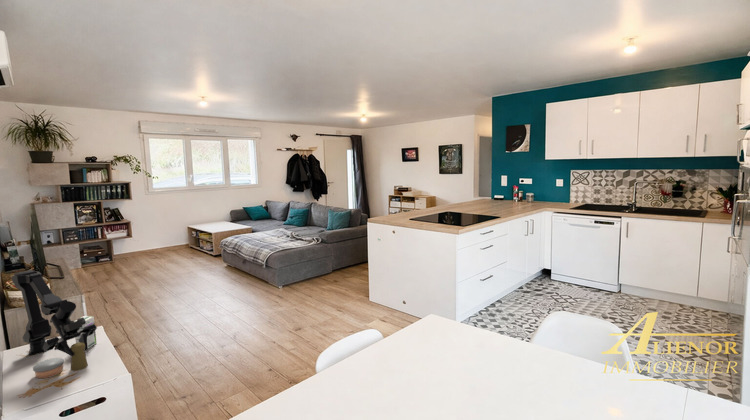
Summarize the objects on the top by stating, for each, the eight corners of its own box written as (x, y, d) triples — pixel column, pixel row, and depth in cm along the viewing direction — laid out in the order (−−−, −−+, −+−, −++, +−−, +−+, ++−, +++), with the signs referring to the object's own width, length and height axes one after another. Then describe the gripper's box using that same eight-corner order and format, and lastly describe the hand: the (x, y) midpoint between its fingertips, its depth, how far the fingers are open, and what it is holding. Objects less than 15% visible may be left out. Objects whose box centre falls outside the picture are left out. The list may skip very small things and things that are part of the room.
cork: (91, 365, 164) (89, 341, 163) (76, 372, 159) (74, 348, 157) (82, 362, 166) (80, 339, 165) (67, 369, 161) (65, 345, 159)
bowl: (36, 372, 158) (35, 364, 158) (63, 365, 164) (62, 357, 164) (34, 381, 151) (33, 373, 151) (63, 374, 157) (62, 366, 157)
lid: (34, 364, 158) (33, 362, 158) (64, 357, 164) (64, 355, 164) (32, 374, 150) (31, 372, 150) (63, 366, 157) (63, 364, 156)
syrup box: (87, 349, 178) (85, 320, 177) (75, 348, 178) (73, 320, 177) (96, 343, 184) (94, 316, 182) (85, 343, 184) (82, 315, 182)
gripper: (43, 322, 153) (61, 353, 150) (93, 307, 170) (109, 334, 167) (35, 336, 157) (52, 366, 154) (84, 320, 174) (100, 347, 171)
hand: (79, 352), depth 161 cm, fingers closed on cork, 5 cm apart
